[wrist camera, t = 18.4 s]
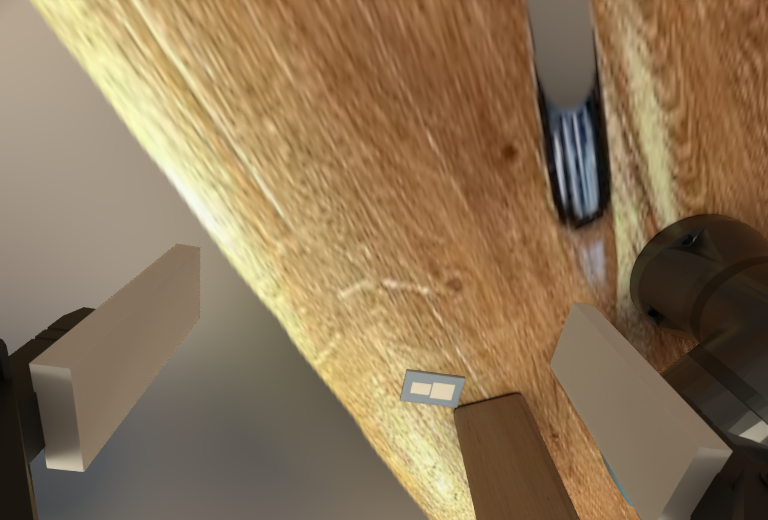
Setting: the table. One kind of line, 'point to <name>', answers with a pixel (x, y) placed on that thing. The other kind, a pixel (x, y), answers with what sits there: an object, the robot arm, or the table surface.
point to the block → (509, 463)
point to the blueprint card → (432, 388)
